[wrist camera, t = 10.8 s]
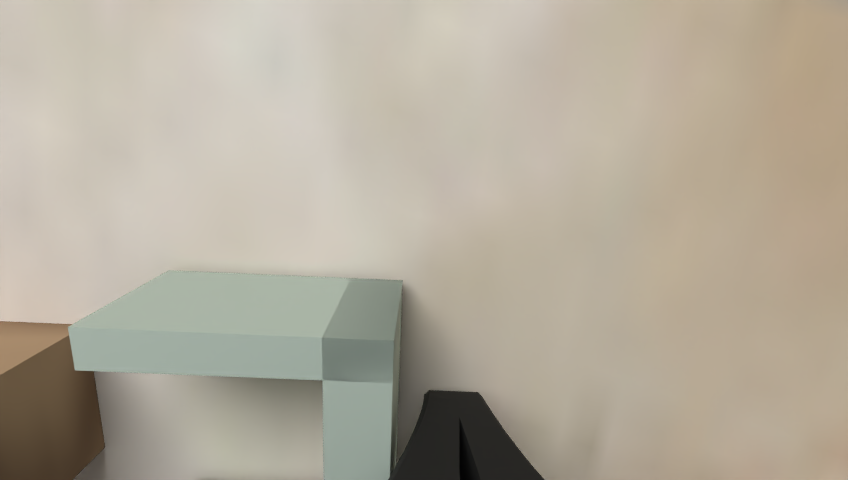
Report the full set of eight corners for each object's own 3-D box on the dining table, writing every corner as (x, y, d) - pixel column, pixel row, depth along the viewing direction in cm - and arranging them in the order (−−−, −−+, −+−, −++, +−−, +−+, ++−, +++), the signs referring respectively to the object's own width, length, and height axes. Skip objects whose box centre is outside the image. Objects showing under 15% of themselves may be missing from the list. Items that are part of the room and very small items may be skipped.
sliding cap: (394, 512, 12) (384, 636, 9) (192, 505, 12) (117, 627, 9) (402, 280, 10) (394, 340, 7) (168, 270, 10) (68, 326, 7)
